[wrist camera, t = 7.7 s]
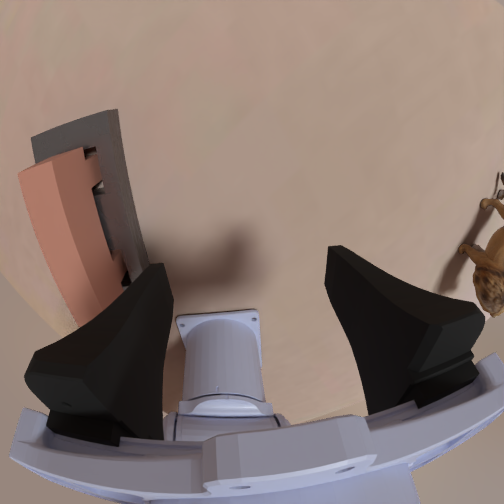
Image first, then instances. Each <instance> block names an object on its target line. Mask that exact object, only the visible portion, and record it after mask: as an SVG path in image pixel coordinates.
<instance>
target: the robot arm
mask: <svg viewBox="0 0 504 504" xmlns="http://www.w3.org/2000/svg"><path fill="white" fill-rule="evenodd" d="M324 284H325V287H326V290H327V294H328V297H329V299H330V302H331V304H332V307H333V309H334V311H335V313H336V315H337V317H338V319H339V321H340V323H341V325H342V327H343V329H344V331H345V334H346V336H347V338H348V340H349V342H350V345H351V347H352V351H353V354H354V357H355V360H356V363H357V367H358V370H359V374H360V378H361V381H362V386H363V390H364V394H365V399H366V404H367V410H368V415H369V416H366V417H361V416H356V415H351V414H350V415H343V416H336V417H331V418H326V419H322V420H317V421H312V422H307V423H301V424H295V425H291V424H290V423H289V421H288V420H287V419H285V417H284V416H283V415H282V414H279V413H277V414H273V408H272V403H266V400H265V394H264V387H263V380H262V373H261V367H262V357H261V340H260V324H259V313H258V311H257V310H244V311H234V312H223V313H212V314H200V315H186V316H178V317H177V318H176V323H177V326H178V329H179V332H180V335H181V338H182V340H183V343H184V346H185V349H186V357H185V369H184V381H183V396H182V401H179V408H178V413H177V412H170V413H169V414H168V415H167V416H166V417H164V419H163V413H162V384H163V367H164V359H165V354H166V348H167V343H168V338H169V333H170V328H171V323H172V317H173V302H174V299H173V295H172V292H171V289H170V285H169V282H168V278H167V274H166V271H165V267H164V263H158V264H150V265H149V266H148V267H147V268H146V269H145V270H144V271H143V272H142V273H141V274H140V275H139V276H138V277H137V278H136V279H135V280H134V281H133V282H132V283H131V284H130V286H129V287H128V288H127V289H126V290H125V291H124V292H123V293H122V294H121V295H120V296H118V297H117V298H116V299H115V300H114V301H113V302H112V303H111V304H110V305H109V306H108V307H107V308H106V309H104V310H103V311H102V312H101V313H100V314H98V315H97V316H96V317H95V318H93V319H92V320H90V321H89V322H88V323H86V324H85V325H83V326H82V327H80V328H79V329H77V330H76V331H74V332H73V333H71V334H69V335H68V336H66V337H64V338H62V339H61V340H59V341H57V342H55V343H53V344H51V345H48V346H46V347H44V348H42V349H40V350H38V351H36V352H35V353H34V355H33V357H32V359H31V361H30V364H29V366H28V368H27V370H26V373H25V375H24V378H25V382H26V384H27V386H28V387H29V389H30V390H31V391H32V392H33V393H34V394H35V395H36V396H37V397H38V398H39V399H40V400H41V401H42V402H43V403H44V404H45V405H46V406H47V407H48V408H49V409H50V413H49V416H47V415H46V414H44V413H41V412H38V411H35V410H32V409H28V408H23V410H22V413H21V416H20V419H19V422H18V425H17V428H16V431H15V435H14V438H13V442H12V446H11V450H10V454H9V457H10V458H11V459H12V460H14V461H16V462H17V463H19V464H21V465H22V466H24V467H25V468H27V469H29V470H31V471H32V472H34V473H36V474H38V475H39V476H41V477H43V478H45V479H47V480H49V481H52V482H55V483H57V484H60V485H62V486H65V487H68V488H70V489H73V490H76V491H79V492H82V493H85V494H88V495H91V496H95V497H98V498H102V499H105V500H109V501H113V502H117V503H121V504H421V503H420V500H419V497H418V494H417V490H416V487H415V484H414V481H413V478H412V475H411V473H410V472H411V471H413V470H416V469H418V468H420V467H422V466H424V465H425V464H427V463H429V462H431V461H433V460H435V459H437V458H438V457H440V456H442V455H444V454H445V453H447V452H449V451H450V450H452V449H453V448H455V447H457V446H458V445H460V444H461V443H463V442H465V441H466V440H468V439H469V438H471V437H472V436H474V435H475V434H476V433H478V432H479V431H481V430H482V429H484V428H485V427H486V426H488V425H489V424H490V423H491V422H492V421H494V420H495V419H496V418H497V417H498V416H499V415H500V414H501V413H502V412H504V364H503V362H502V361H501V359H500V358H499V357H498V355H497V354H496V353H495V352H494V353H492V354H490V355H489V356H487V357H485V358H483V359H482V360H480V361H479V362H478V363H476V365H474V364H473V362H472V359H473V358H474V354H473V353H472V351H471V348H472V347H473V345H474V344H475V342H476V340H477V338H478V337H479V335H480V334H481V331H482V330H483V327H484V324H485V316H484V314H483V313H482V312H481V311H480V309H479V308H478V307H477V306H476V304H475V303H473V302H469V301H463V300H458V299H453V298H449V297H445V296H441V295H438V294H435V293H432V292H429V291H426V290H423V289H420V288H418V287H415V286H413V285H411V284H408V283H406V282H404V281H402V280H400V279H398V278H396V277H394V276H392V275H390V274H388V273H387V272H385V271H383V270H381V269H379V268H378V267H376V266H374V265H373V264H371V263H370V262H368V261H366V260H365V259H363V258H362V257H360V256H358V255H357V254H355V253H354V252H352V251H350V250H349V249H347V248H345V247H343V246H341V245H338V246H328V254H327V265H326V274H325V283H324ZM252 318H254V319H252ZM182 324H184V325H182Z"/></svg>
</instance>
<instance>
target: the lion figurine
mask: <svg viewBox="0 0 504 504" xmlns="http://www.w3.org/2000/svg"><path fill="white" fill-rule="evenodd" d="M501 180H502V183H503V185H504V173H503V172H502V174H501ZM498 197H499V199H500V200H502V199H503V198H504V190H501V191H500V192H499V195H498ZM488 206H494V207H495V208H496V209H497V210H498V212H499V214H500V215H501V217H502V218H503V219H504V205H503V204H501V202H500V201H499V200H498V199H483V200H482V202H481V208H482V209H486V208H487V207H488ZM458 251H459V253H460V254H463V253H464V252H466V253H467V254H468V256H469V257H470V259H471V260H472V261H473V262H474V263H475V264H476V267H475V272H474V274H473V283H474V286H475V291H476V296H477V299H478V300H479V302H480V305H481V306H482V308H483V310H484V311H486V312H489V313H490V315H491V316H492V317H493V318H495V317H496V316H499V315H500V314H501V313H503V312H504V226H503V227H501V228H500V229H498V230H497V231H496V232H495V233H494V234H493V235H492V237H491V239H490V240H489V243H488V245H487V247H486V250H485V251H484V250H483V249H482V248H481V247H480V246H479V245H476V244H474V245H473V246H472V247H471V246H470V245H467V244H462V245H461V246H460V247H459V250H458Z"/></svg>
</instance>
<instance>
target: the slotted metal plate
mask: <svg viewBox="0 0 504 504" xmlns="http://www.w3.org/2000/svg"><path fill="white" fill-rule="evenodd" d="M31 142H32V148H33V153H34V158H35V163H36V164H37V163H39V162H41V161H43V160H45V159H47V158H50V157H52V156H55V155H58V154H61V153H64V152H67V151H70V150H74V149H77V148H80V147H83V150H84V149H87V148H91V147H95V146H96V151H97V156H98V162H99V167H100V171H101V176H102V181H103V185H104V188H99V189H94V190H92V193H93V197H94V201H95V205H96V208H97V212H98V216H99V219H100V223H101V226H102V229H103V233H104V236H105V239H106V242H107V245H108V248H109V251H110V250H118V249H121V251H122V255H123V258H124V261H125V264H126V267H127V270H128V273H125V275H124V277H123V279H122V281H121V285H122V288H123V290H124V291H125V290H126V289H127V288H128V287H129V286H130V284H131V283H132V282H133V281H134V280H135V279H136V278H137V277H138V276H139V275H140V274H141V273H142V272H143V271H144V270H145V269H146V268H147V267H148V266H149V265H150V263H149V260H148V256H147V253H146V249H145V246H144V242H143V238H142V234H141V230H140V226H139V222H138V218H137V214H136V210H135V206H134V201H133V197H132V192H131V187H130V182H129V177H128V172H127V167H126V162H125V156H124V150H123V144H122V138H121V131H120V124H119V116H118V109H113V110H106V111H103V112H99V113H96V114H93V115H89V116H86V117H83V118H80V119H77V120H74V121H72V122H69V123H66V124H63V125H61V126H58V127H55V128H53V129H50V130H48V131H45V132H43V133H40V134H38V135H36V136H33V137H31Z"/></svg>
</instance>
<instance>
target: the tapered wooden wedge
mask: <svg viewBox="0 0 504 504" xmlns="http://www.w3.org/2000/svg"><path fill="white" fill-rule="evenodd" d="M18 178H19V182H20V186H21V189H22V193H23V197H24V200H25V204H26V207H27V210H28V213H29V216H30V219H31V222H32V225H33V228H34V231H35V234H36V237H37V239H38V242H39V245H40V247H41V250H42V252H43V255H44V257H45V259H46V262H47V264H48V267H49V269H50V271H51V273H52V276H53V278H54V280H55V282H56V284H57V286H58V288H59V290H60V292H61V294H62V296H63V298H64V300H65V302H66V304H67V306H68V308H69V310H70V312H71V314H72V315H73V317H74V319H75V321H76V323H77V324H78V326H79V327H82V326H83V325H85V324H86V323H88V322H89V321H90V320H92V319H93V318H95V317H96V316H97V315H98V314H100V313H101V312H102V311H103V310H104V309H106V308H107V307H108V306H109V305H110V304H111V303H112V302H113V301H114V300H115V299H116V298H117V297H118V296H120V295H121V294H122V293H123V292H124V290H123V288H122V285H121V281H122V279H123V277H124V275H125V272H126V270H127V267H126V264H125V261H124V258H123V255H122V251H121V249H118V250H110V251H109V248H108V245H107V242H106V239H105V236H104V233H103V229H102V226H101V223H100V219H99V216H98V212H97V208H96V205H95V201H94V197H93V193H92V189H91V188H92V187H93V186H95V185H96V184H97V183H99V182H100V181H101V180H102V176H101V171H100V167H99V162H98V156H97V154H95V155H91V156H87V157H84V151H83V147H80V148H77V149H74V150H70V151H67V152H64V153H61V154H58V155H55V156H52V157H50V158H47V159H45V160H43V161H41V162H39V163H37V164H35V165H33V166H31V167H29V168H27V169H25V170H23V171H21V172H19V173H18Z"/></svg>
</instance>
